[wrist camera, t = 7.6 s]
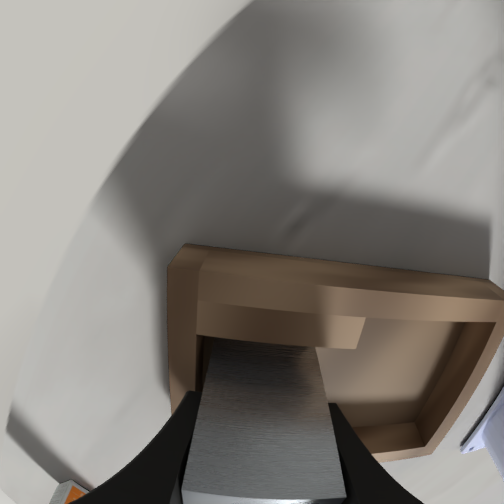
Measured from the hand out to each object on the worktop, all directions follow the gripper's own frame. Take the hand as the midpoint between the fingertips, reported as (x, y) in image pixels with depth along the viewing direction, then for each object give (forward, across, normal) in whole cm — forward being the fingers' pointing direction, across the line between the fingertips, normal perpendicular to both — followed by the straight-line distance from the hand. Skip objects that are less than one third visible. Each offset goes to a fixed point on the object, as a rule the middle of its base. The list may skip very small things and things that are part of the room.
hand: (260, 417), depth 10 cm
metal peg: (+3, 0, 0) cm, 3 cm away
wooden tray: (+3, -4, 0) cm, 5 cm away
